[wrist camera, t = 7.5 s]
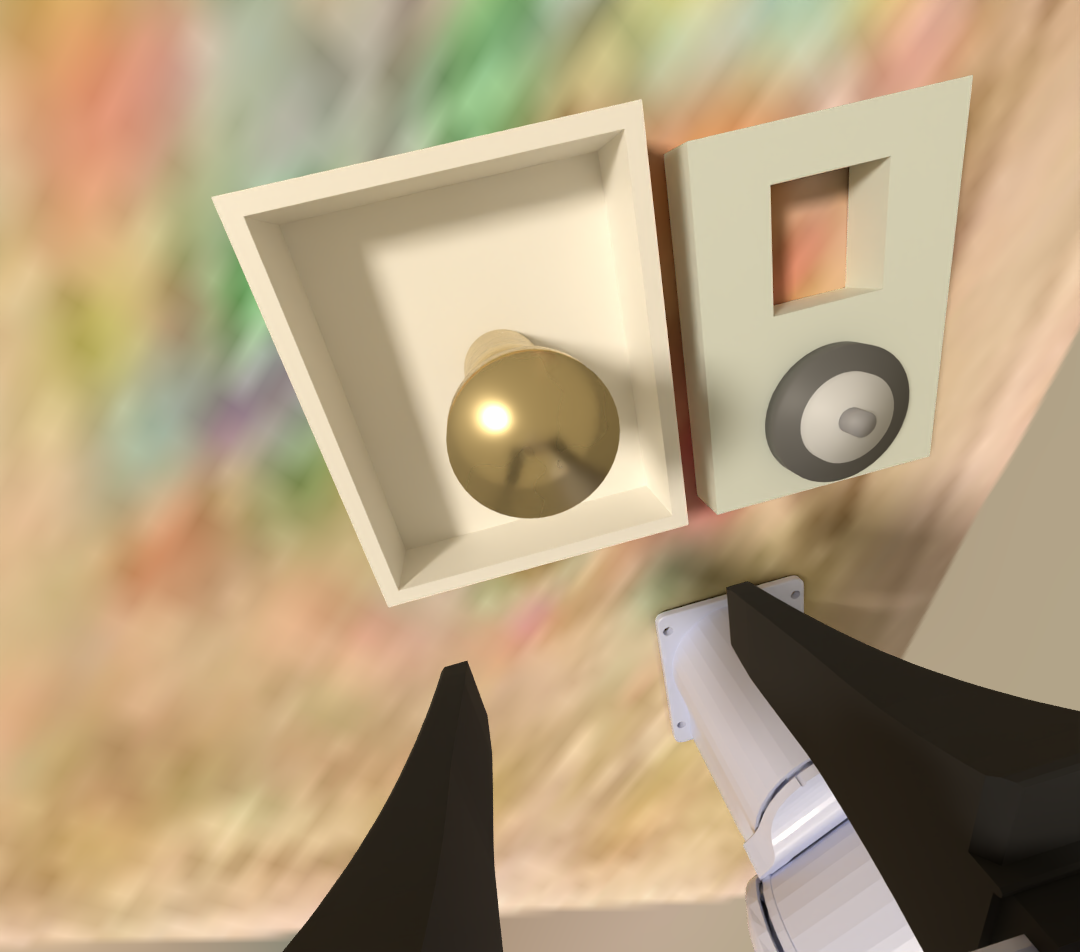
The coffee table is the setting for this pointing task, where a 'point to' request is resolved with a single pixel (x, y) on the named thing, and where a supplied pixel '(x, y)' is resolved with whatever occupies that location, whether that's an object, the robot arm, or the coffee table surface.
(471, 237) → the tray
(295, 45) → the coffee table surface
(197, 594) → the coffee table surface
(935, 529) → the coffee table surface
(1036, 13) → the coffee table surface
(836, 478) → the block
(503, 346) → the pin
